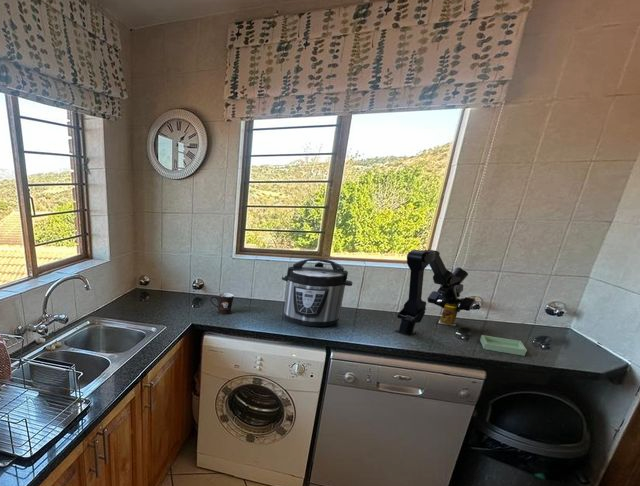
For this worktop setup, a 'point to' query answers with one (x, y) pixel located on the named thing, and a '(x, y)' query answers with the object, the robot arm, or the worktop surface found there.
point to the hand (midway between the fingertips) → (452, 310)
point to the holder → (503, 345)
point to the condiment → (449, 314)
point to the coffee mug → (224, 302)
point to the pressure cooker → (315, 293)
